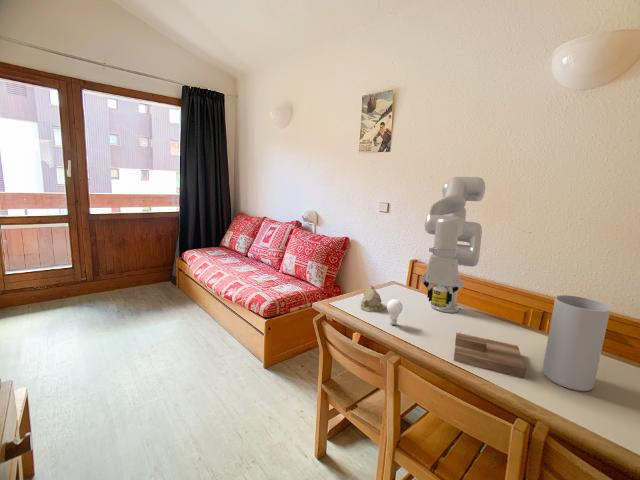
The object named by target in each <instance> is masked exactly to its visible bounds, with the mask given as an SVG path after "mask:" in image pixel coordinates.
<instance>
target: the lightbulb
mask: <svg viewBox="0 0 640 480" xmlns="http://www.w3.org/2000/svg"><path fill="white" fill-rule="evenodd" d="M403 307H404V306H403V304H402V302H401V301H400V300H399V299H397V298H392V299H390V300H389V301H388V302H387V304H386V310H387V311H388V313H389V318H390V319H389V320H390V321H389V323H390V324H391V325H392V326H394V325H397V323H398V318H399V316H400V314H401V313H402V311H403V309H404V308H403Z"/></svg>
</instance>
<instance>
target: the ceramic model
mask: <svg viewBox="0 0 640 480" xmlns="http://www.w3.org/2000/svg"><path fill="white" fill-rule="evenodd" d="M384 307H385V306H384V305H383V304H382V298H381V295H380V293H378V292H377V290H376V289H375V286H373V285H369V287H367V288H366V289H365V290H364V292H363V298H362V300H361V301H360V309H361V310H363V311H365V312H368V313H369V312H370V313H372V311H373V312H382V311H383V310H384ZM381 310H382V311H381Z"/></svg>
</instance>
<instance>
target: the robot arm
mask: <svg viewBox="0 0 640 480" xmlns="http://www.w3.org/2000/svg"><path fill="white" fill-rule="evenodd" d="M485 191H486V183H485V180H484V179H483V178H482V177H479V176H454V177H451V178H450V179H449V180H448V181H447V182H446V183H444V184H443V186H442V198H441V199H439V200H437V201H436V202H435V203H433V204H431V206H429V208H428V211H427V214H426V217H425V221H424V231H425V232H426V233H427V234H429V235H434V242H433V247H429V249H428V252H430V253H431V255H430V257H429V259H428V264H427V269H426V272H425V273H424V274H423V275H421V276H420V277H419V280H420V281H421V283H422V284H423V285H424V286H425V288H426V289H427V298H428V302H431V296H432V288H433V286H434V285H442V286H446V287H447V288H448V296H447V305H446V308H444V309H439V308H434V307H432V306H431V305H430V307H431V308H432V309H433V310H436V311H437V312H441V313H447V314H448V313H449V314H450V313H451V314H452V313H453V314H454V313H457V312H459V310H460V307H459V306H458V305H457V298H458V297H457V296H458V291H459V290H460V289H462V288H464V287H465V284H464V283H463V281H462V280H461V278H460V273H459V266H464V267H476V266H477V265H478V264H479V261H480V254H481V245H482V236H483V229H482V228H483V227H482V225H481V224H480V223H479V222H475V221H466V217H467V209H466V207H465V206H466V203H467V202H480V201H482V200H483V199H484V196H485V194H486V193H485ZM458 242H461V243H462V242H463V243H468V244H469V245H467V244H460V243H458Z"/></svg>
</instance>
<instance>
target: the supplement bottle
mask: <svg viewBox="0 0 640 480" xmlns="http://www.w3.org/2000/svg"><path fill="white" fill-rule="evenodd" d="M447 296H448V288H447V287H446V286H442V285H436V284H433V285H432V296H431V301H430V307H431V306H432V307H434V308H439V309H444V308H446V305H447ZM432 307H431V308H432ZM434 308H433V309H434Z"/></svg>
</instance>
